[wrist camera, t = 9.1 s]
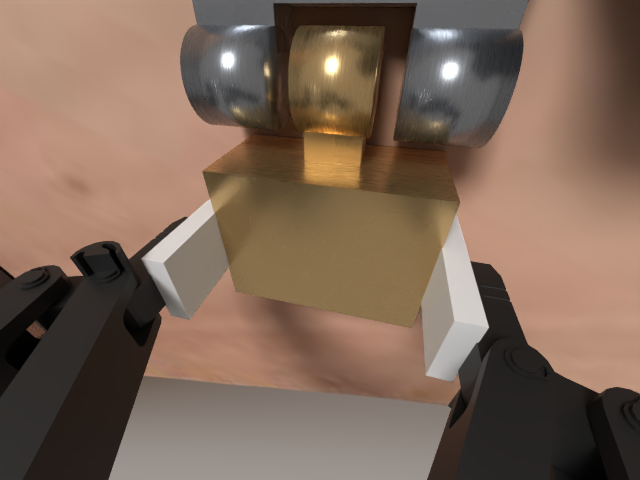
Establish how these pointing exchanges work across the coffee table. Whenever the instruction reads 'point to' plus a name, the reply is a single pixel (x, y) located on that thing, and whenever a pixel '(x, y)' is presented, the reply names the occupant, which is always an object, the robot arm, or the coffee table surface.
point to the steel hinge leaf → (418, 79)
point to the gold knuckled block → (334, 192)
